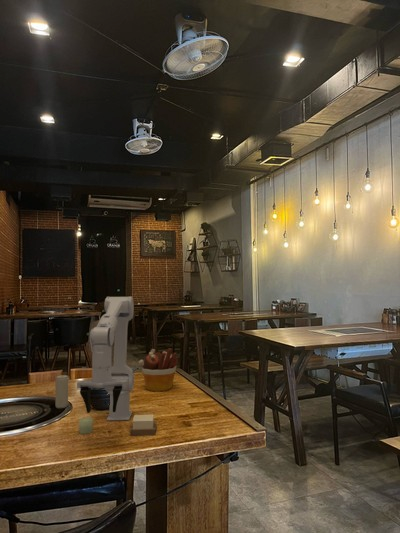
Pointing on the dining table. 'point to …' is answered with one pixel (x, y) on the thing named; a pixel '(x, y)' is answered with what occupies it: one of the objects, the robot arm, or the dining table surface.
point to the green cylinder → (85, 425)
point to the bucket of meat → (159, 370)
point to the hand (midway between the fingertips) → (101, 411)
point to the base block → (143, 431)
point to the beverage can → (61, 391)
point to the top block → (143, 421)
